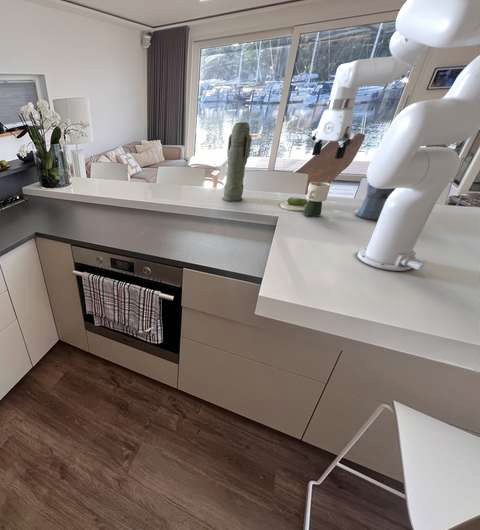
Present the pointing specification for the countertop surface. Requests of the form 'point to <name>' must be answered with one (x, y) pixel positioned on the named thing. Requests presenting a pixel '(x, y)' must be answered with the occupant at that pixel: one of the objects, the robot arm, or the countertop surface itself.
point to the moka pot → (374, 202)
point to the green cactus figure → (237, 161)
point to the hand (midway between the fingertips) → (326, 156)
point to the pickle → (297, 201)
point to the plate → (292, 206)
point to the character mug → (316, 197)
